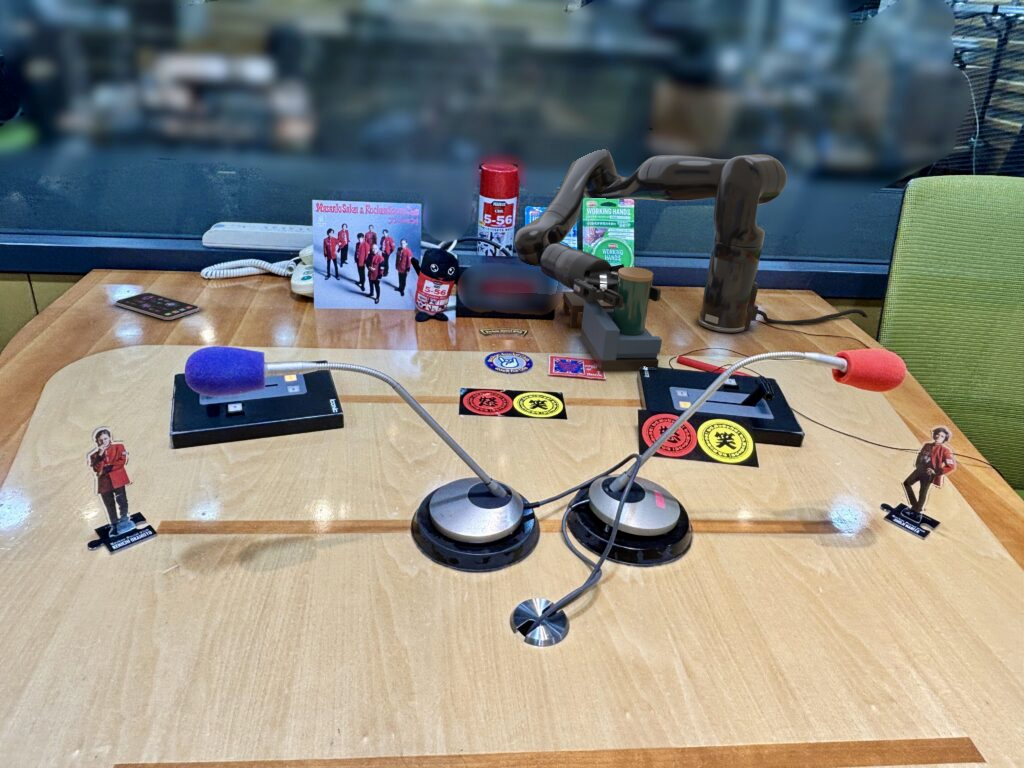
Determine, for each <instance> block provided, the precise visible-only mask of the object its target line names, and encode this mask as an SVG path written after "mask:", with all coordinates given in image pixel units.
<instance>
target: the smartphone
mask: <svg viewBox="0 0 1024 768" xmlns="http://www.w3.org/2000/svg"><path fill="white" fill-rule="evenodd" d="M115 305H116V306H119V307H122V308H124V309H129V310H132V311H135V312H138V313H141V314H144V315H148V316H151V317H155V318H158V319H160V320H161V319H162V320H163V321H173V320H174V319H178V318H181V317H184V316H187V315H190V314H193V313H196V312H199V311H200V307H199V306H198V305H195V304H192V303H188V302H185V301H182V300H178V299H174V298H170V297H166V296H163V295H159V294H156V293H153V292H142V293H139V294H135V295H132V296H128V297H124V298H122V299H121V298H120V299H117V300H116V301H115Z"/></svg>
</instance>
